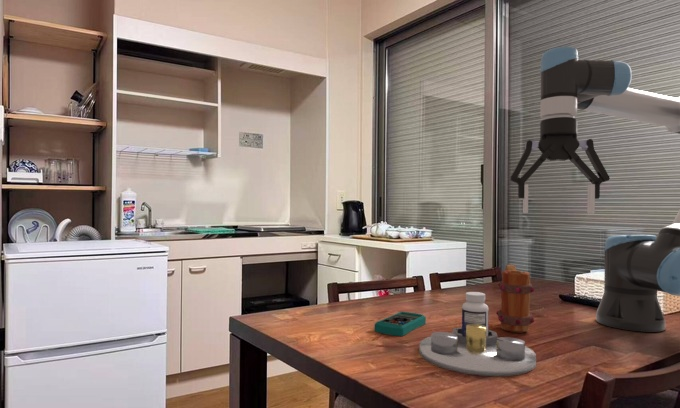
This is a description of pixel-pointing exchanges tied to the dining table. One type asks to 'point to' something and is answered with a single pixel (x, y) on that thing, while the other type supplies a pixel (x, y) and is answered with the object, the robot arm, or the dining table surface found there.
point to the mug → (515, 300)
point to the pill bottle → (475, 311)
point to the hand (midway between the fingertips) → (557, 213)
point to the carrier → (478, 352)
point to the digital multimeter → (400, 323)
